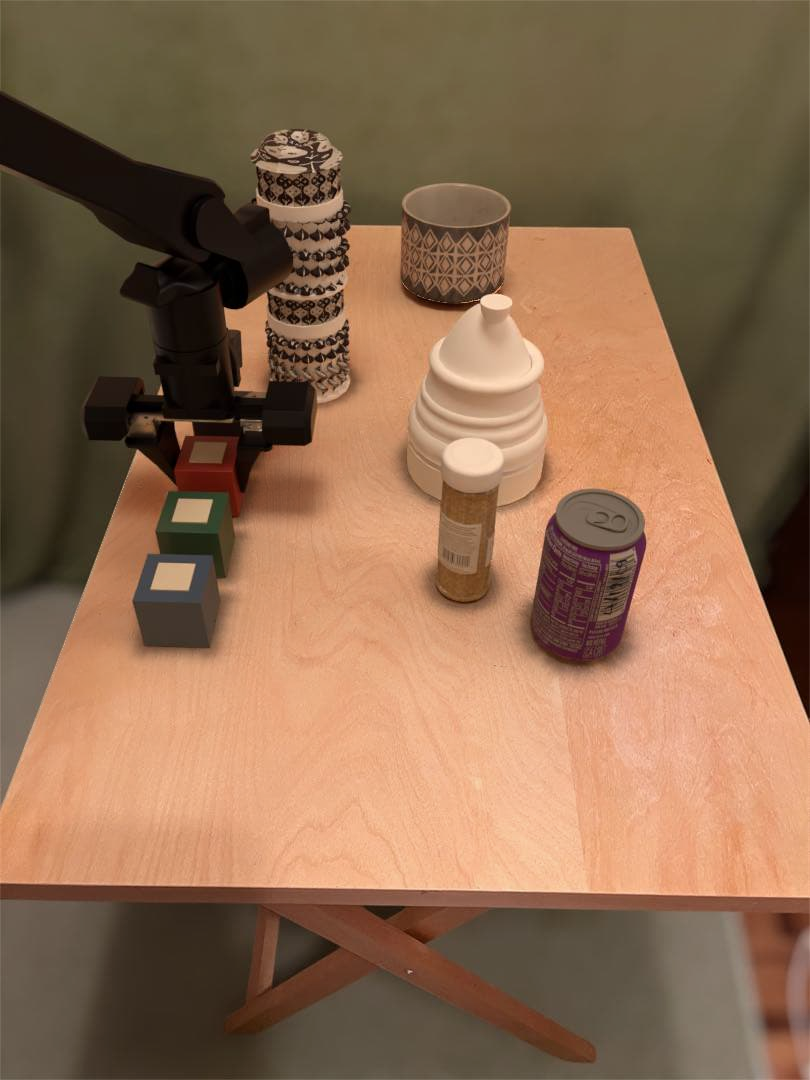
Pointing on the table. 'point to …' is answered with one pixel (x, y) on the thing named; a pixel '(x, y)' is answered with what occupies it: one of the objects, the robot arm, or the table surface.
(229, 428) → the charcoal block
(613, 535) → the beverage can
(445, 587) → the sprinkles bottle
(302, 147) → the decorative candle
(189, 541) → the green block
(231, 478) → the red cube
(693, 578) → the table surface
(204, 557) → the slate block
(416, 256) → the planter
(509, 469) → the honey pot
